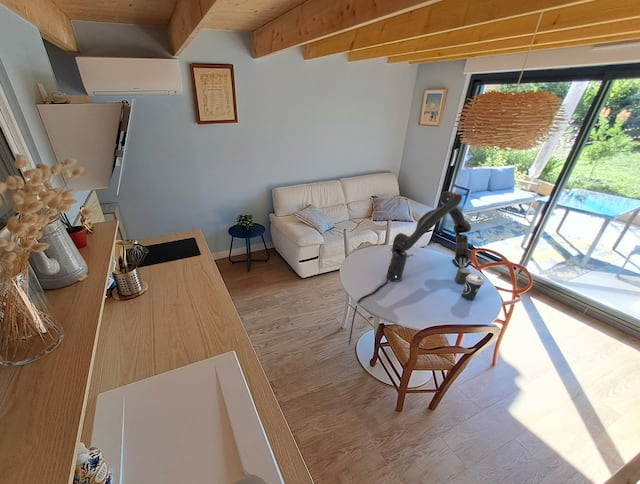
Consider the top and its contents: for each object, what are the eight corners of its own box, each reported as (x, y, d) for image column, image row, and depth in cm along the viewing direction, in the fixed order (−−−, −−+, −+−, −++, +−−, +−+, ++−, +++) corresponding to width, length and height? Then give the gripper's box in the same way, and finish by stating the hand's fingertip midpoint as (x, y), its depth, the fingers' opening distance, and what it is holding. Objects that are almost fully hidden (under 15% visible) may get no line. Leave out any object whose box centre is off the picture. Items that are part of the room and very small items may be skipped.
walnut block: (454, 278, 198) (458, 267, 194) (464, 279, 197) (468, 269, 193) (457, 283, 193) (461, 272, 189) (467, 284, 192) (471, 273, 188)
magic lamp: (412, 264, 215) (415, 252, 209) (387, 262, 218) (390, 249, 213) (410, 260, 221) (414, 247, 215) (386, 257, 224) (389, 245, 219)
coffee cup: (470, 303, 175) (478, 283, 168) (456, 294, 183) (463, 275, 175) (479, 298, 179) (488, 279, 172) (465, 290, 186) (472, 271, 179)
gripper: (453, 247, 198) (452, 271, 194) (474, 249, 195) (474, 273, 191) (449, 250, 205) (448, 273, 201) (469, 252, 202) (469, 275, 198)
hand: (461, 273), depth 196 cm, fingers closed
